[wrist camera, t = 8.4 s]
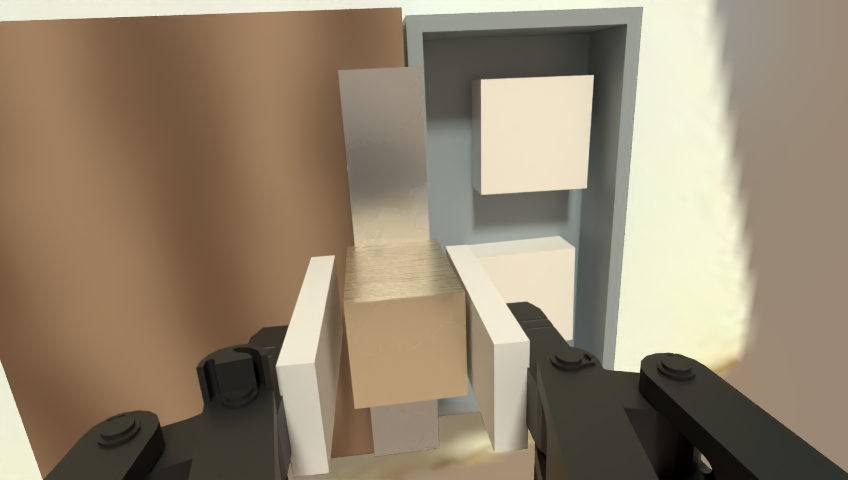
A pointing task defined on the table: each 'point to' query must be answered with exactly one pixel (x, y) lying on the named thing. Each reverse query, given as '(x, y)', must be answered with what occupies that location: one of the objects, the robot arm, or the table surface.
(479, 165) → the tile
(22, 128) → the wood grain panel
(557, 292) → the tile
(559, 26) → the box
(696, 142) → the table surface
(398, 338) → the gray bar with knob
